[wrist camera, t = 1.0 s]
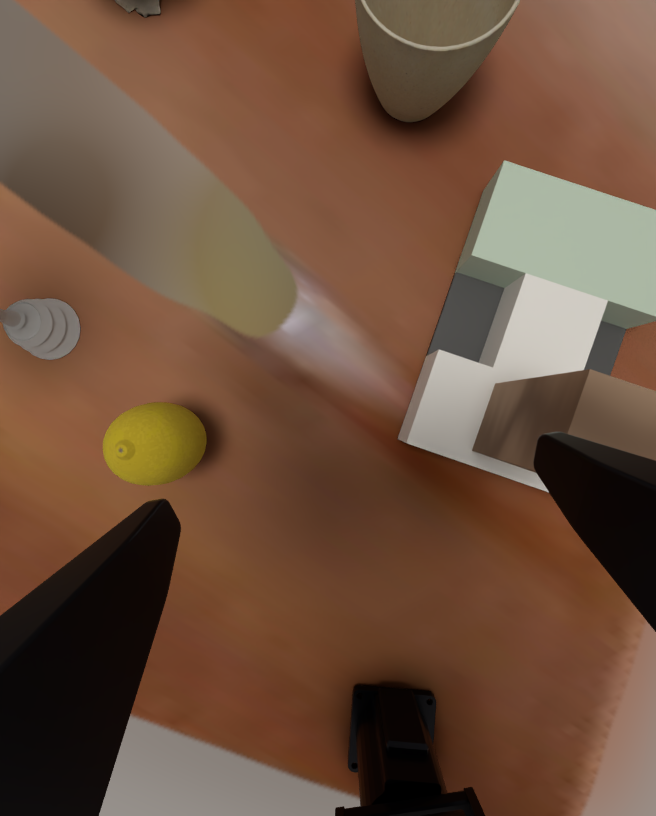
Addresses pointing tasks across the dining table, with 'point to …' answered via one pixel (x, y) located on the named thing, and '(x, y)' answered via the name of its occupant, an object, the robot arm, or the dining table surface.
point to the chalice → (42, 326)
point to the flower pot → (426, 48)
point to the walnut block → (567, 415)
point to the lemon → (154, 443)
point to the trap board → (531, 303)
